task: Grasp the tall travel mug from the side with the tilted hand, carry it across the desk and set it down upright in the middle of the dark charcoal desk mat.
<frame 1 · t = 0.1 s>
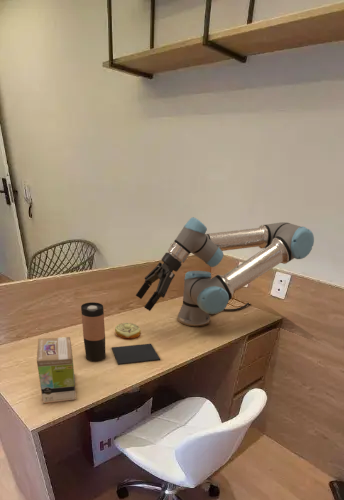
hand: (142, 303, 135), 15 cm above the table, tool tilted 35°, fingers open, 13 cm apart
tea box: (59, 388, 109), on the table
desk mat: (135, 354, 131), on the table
decorated donut: (127, 334, 145), on the table
travel mug: (95, 357, 127), on the table
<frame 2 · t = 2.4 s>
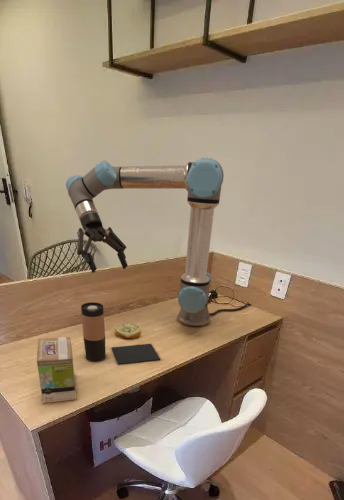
hand: (110, 269, 128), 28 cm above the table, tool tilted 45°, fingers open, 13 cm apart
nothing on the table moved.
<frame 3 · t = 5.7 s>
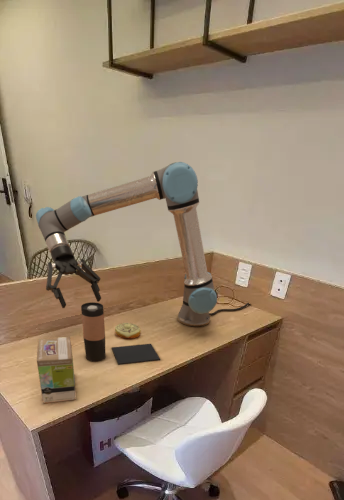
hand: (82, 303, 122), 18 cm above the table, tool tilted 45°, fingers open, 13 cm apart
nothing on the table moved.
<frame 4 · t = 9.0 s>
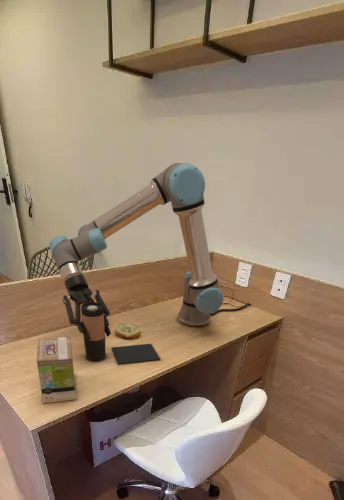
hand: (98, 337, 119), 10 cm above the table, tool tilted 45°, fingers closed on travel mug, 7 cm apart
travel mug: (95, 357, 127), on the table, touching gripper
everything else where it was.
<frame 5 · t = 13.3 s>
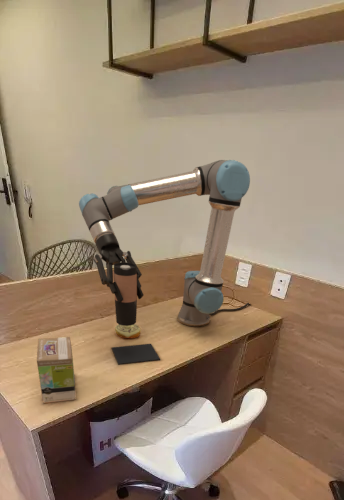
hand: (131, 299, 115), 23 cm above the table, tool tilted 45°, fingers closed on travel mug, 7 cm apart
travel mug: (126, 322, 122), point 13 cm above the table, touching gripper
everything else where it was.
when the fingers open (10 cm above the table, at t = 17.6 s): travel mug stays where it is, resting on desk mat.
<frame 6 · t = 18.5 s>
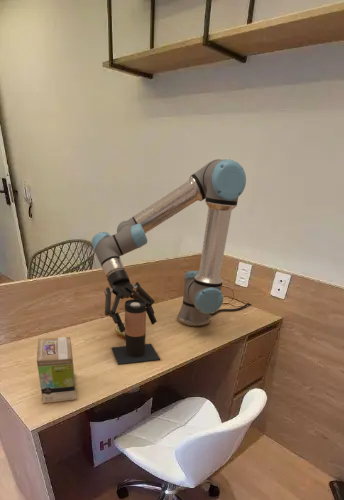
hand: (139, 326, 122), 12 cm above the table, tool tilted 45°, fingers open, 13 cm apart
travel mug: (135, 353, 130), resting on desk mat
everything else where it was.
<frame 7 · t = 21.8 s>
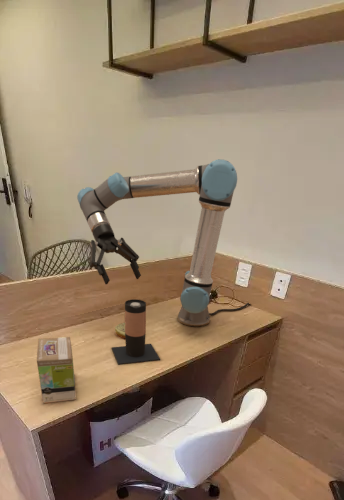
hand: (123, 279, 126), 25 cm above the table, tool tilted 45°, fingers open, 13 cm apart
nothing on the table moved.
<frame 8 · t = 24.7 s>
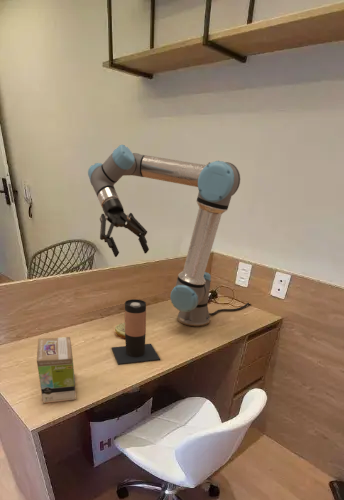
hand: (132, 253, 130), 33 cm above the table, tool tilted 45°, fingers open, 13 cm apart
nothing on the table moved.
at the end: travel mug inside the target area on the desk mat (0.1 cm from its centre), point 0.4 cm above the desk mat's base; travel mug tilted 0°; the gripper is holding nothing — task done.
